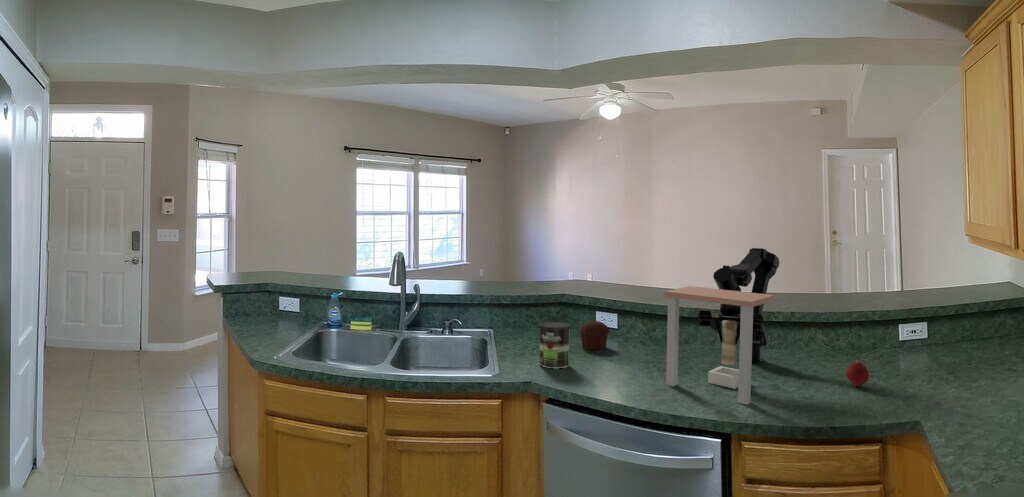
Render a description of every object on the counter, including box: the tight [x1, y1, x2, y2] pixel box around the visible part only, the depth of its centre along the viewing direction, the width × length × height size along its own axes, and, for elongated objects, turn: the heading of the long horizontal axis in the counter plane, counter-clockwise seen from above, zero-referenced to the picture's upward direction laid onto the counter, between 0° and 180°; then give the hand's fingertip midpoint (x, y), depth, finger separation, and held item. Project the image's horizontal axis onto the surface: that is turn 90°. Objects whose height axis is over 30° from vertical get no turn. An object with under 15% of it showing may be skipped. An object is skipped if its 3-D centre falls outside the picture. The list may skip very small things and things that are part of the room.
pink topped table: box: [663, 285, 776, 405], centre depth 167 cm, size 16×26×28 cm, turn 45°
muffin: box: [578, 320, 611, 352], centre depth 216 cm, size 12×11×10 cm
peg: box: [720, 320, 738, 366], centre depth 173 cm, size 4×4×13 cm
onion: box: [845, 359, 870, 387], centre depth 170 cm, size 6×6×8 cm
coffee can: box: [539, 321, 571, 369], centre depth 192 cm, size 10×10×14 cm
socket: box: [707, 365, 739, 390], centre depth 174 cm, size 8×8×4 cm
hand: (728, 343), depth 172 cm, fingers closed on peg, 4 cm apart
